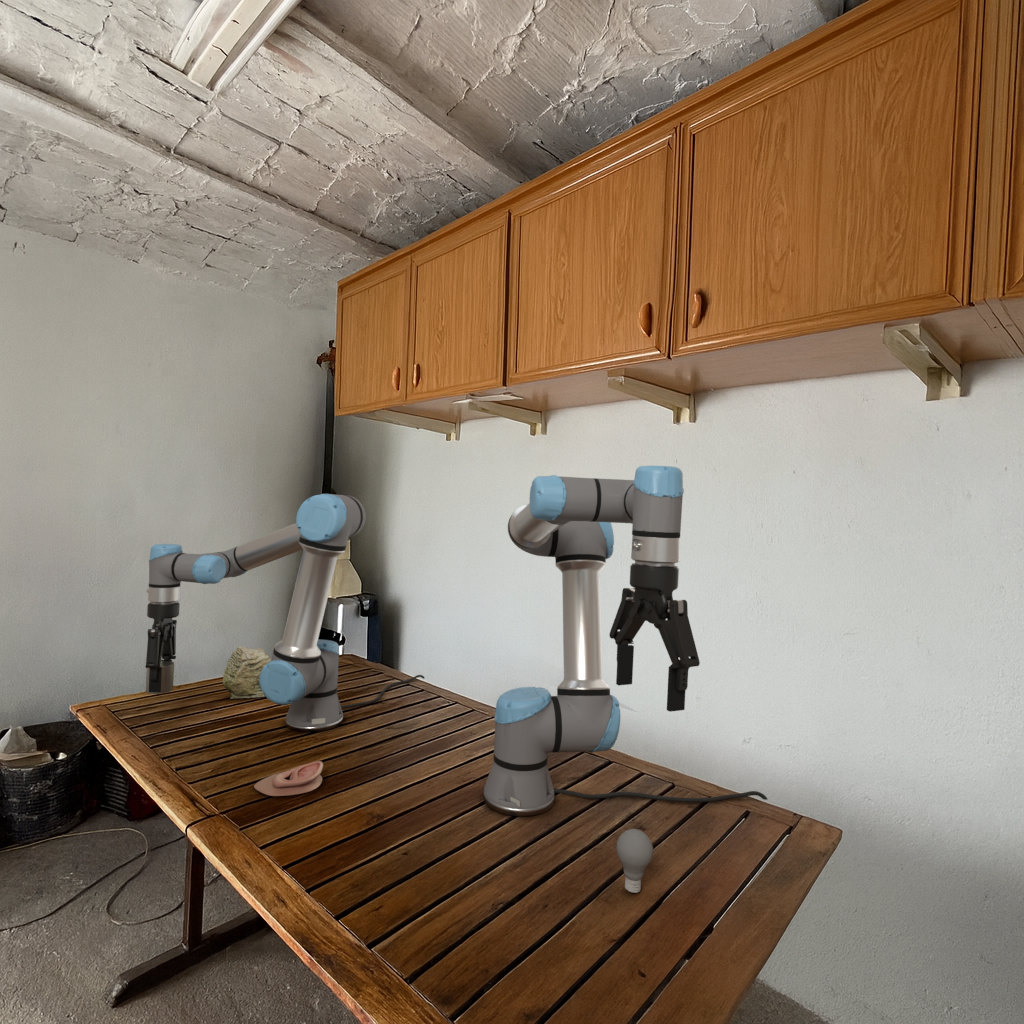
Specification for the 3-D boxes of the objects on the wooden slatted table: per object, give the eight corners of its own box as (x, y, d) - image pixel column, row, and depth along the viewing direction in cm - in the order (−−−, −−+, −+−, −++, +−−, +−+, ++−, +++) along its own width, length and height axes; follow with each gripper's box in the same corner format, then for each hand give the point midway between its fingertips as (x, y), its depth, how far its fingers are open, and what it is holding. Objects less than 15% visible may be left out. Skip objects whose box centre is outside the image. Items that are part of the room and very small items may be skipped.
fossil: (218, 695, 195) (220, 647, 195) (278, 685, 208) (279, 640, 207) (228, 703, 189) (230, 653, 188) (289, 692, 201) (290, 645, 201)
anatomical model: (246, 773, 134) (276, 753, 145) (245, 792, 134) (276, 770, 145) (303, 782, 131) (330, 760, 142) (302, 801, 131) (329, 777, 142)
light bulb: (610, 879, 108) (613, 822, 108) (644, 879, 109) (647, 822, 109) (619, 902, 102) (622, 840, 102) (655, 901, 103) (658, 840, 103)
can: (174, 686, 173) (175, 660, 173) (171, 693, 167) (172, 666, 167) (148, 687, 171) (149, 661, 171) (143, 694, 165) (144, 667, 165)
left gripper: (162, 595, 178) (159, 677, 178) (132, 608, 159) (128, 699, 159) (191, 596, 179) (187, 677, 180) (164, 608, 160) (160, 699, 160)
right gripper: (593, 555, 110) (587, 676, 111) (687, 573, 88) (679, 725, 88) (629, 555, 113) (623, 673, 114) (729, 572, 91) (721, 720, 91)
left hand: (160, 687), depth 169 cm, fingers closed on can, 6 cm apart
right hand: (648, 696), depth 101 cm, fingers open, 13 cm apart
